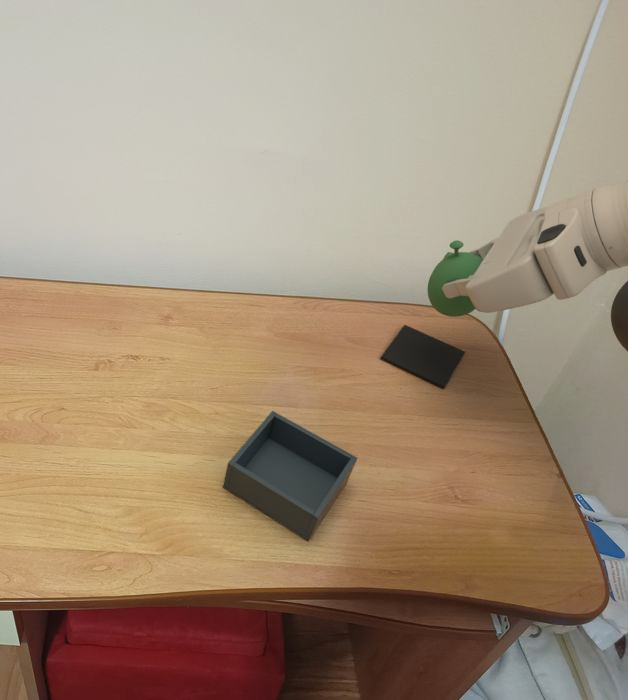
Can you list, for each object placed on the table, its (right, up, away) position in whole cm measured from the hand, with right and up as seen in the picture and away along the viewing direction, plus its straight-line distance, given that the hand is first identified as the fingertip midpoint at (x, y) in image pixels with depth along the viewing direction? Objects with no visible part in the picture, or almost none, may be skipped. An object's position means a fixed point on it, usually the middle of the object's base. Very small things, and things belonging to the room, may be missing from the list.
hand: (456, 275), depth 79 cm
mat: (0, -10, +9) cm, 14 cm away
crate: (-23, -25, -8) cm, 35 cm away
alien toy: (0, -4, +4) cm, 6 cm away
